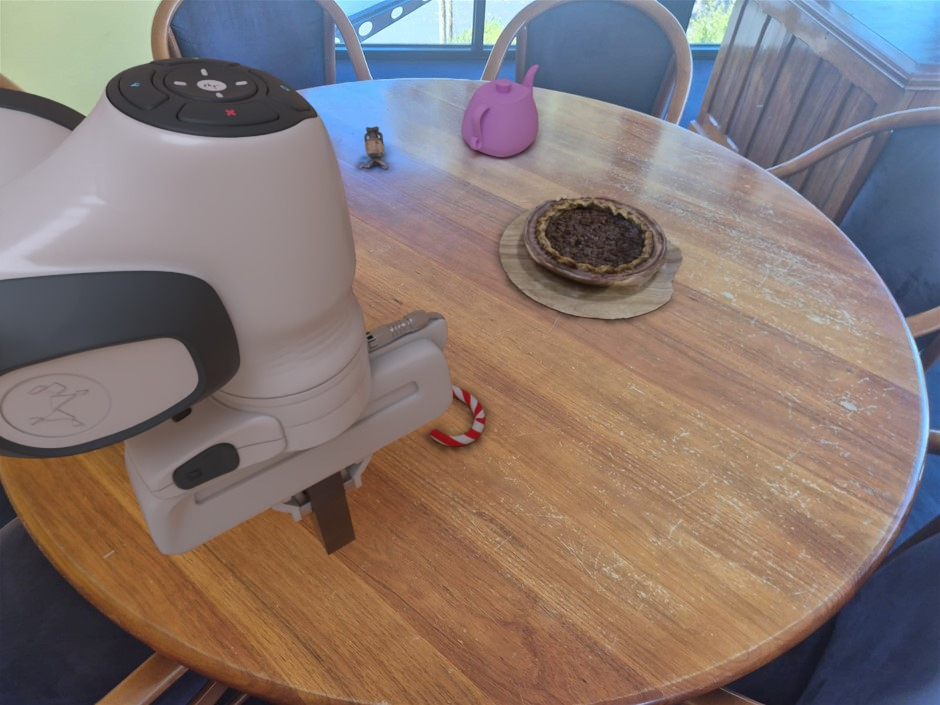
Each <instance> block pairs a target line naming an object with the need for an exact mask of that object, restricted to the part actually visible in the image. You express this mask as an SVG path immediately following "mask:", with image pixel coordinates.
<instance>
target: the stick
mask: <svg viewBox="0 0 940 705" xmlns="http://www.w3.org/2000/svg"><path fill="white" fill-rule="evenodd" d="M304 491H305V494H306V495H307V496H308V498H309V500H310V501H311V504H312V508H313V510H314V512H313V513H312V514H310V515H308V517H309V518H310V522H311V525H312V528H313V531H314V533H315V535H316V537H317V538H318V541H319V542H320V544H321V546H322V547H323V549H324V551H325V553H326V555H327V556H330V555H332V554H334V553H335V552H337V551H339V550H340V549H342V548H344V547H346V546H347V545H349V544H351V543H352V542H354V541H355V540H356V539H357V537H356V533H355V529H354V525H353V524H354V523H353V520H352V516H351V512H350V507H349V503H348V497H347V494H346V493H345V488H344V484H343V480H342V475H341V471H338V472H336V473H334V474H333V475H331V476H329V477H327V478H325V479H323V480H321V481H319V482H318V483H316V484H314V485H312V486H310V487H308V488H306V489H305V490H304Z"/></svg>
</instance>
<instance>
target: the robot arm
mask: <svg viewBox="0 0 940 705" xmlns="http://www.w3.org/2000/svg"><path fill="white" fill-rule="evenodd" d="M101 92H102V93H101V94H100V96H99V98H98V100H97V101H96V103H95V105H94V107H93V108H92V109H91V111H90V112H89V113H88V114H87V115H84V114H83V113H81V112H79V111H78V110H76V109H74V108H72V107H70V106H68V105H66V104H63V103H61V102H59V101H56V100H53V99H51V98H48V97H44V96H41V95H38V94H34V93H32V92H28V91H27V92H26V91H21V90H16V89H11V88H6V87H5V88H4V87H0V457H5V458H14V459H29V460H30V459H33V460H34V459H37V460H39V459H43V460H44V459H45V460H46V459H57V458H65V457H66V458H67V457H72V456H77V455H82V454H87V453H91V452H93V451H97V450H101V449H104V448H106V447H109V446H113V445H115V444H118V443H121V442H123V444H124V447H125V448H124V449H125V450H124V455H123V458H124V465H125V469H126V473H127V476H128V479H129V482H130V485H131V487H132V491H133V493H134V497H135V499H136V502H137V505H138V507H139V510H140V513H141V516H142V517H143V520H144V522H145V525H146V527H147V529H148V532H149V534H150V537H151V540H152V541H153V543H154V545H155V547H156V549H157V550H158V551H159V553H160V554H162V555H164V556H179V555H185V554H188V553H189V552H191V551H193V550H195V549H196V548H198V547H200V546H202V545H204V544H206V543H208V542H209V541H211V540H214V539H215V538H218V537H219V536H221V535H222V534H224V533H227V532H228V531H230V530H232V529H233V528H236V527H237V526H239V525H241V524H243V523H245V522H246V521H248V520H250V519H252V518H254V517H256V516H258V515H259V514H262V513H263V512H265V511H267V510H269V509H271V510H272V511H275V512H282V513H286V514H290V516H291V518H292V520H293V522H294V523H298V522H300V521H301V520H303V519H305V518H307V517H309V515H310V514H312V513H313V512H314V510H313V508H312V504H311V501H310V500H309V498H308V496H307V495H306V494H305V491H304V490H305V489H306V488H308V487H310V486H312V485H314V484H316V483H318V482H319V481H321V480H323V479H325V478H327V477H329V476H331V475H333V474H334V473H336V472H338V471H341V475H342V480H343V484H344V488H345V493H346V495H348V494H349V493H351V492H353V491H355V490H358V489H359V488H361V487H362V486H363V480H362V476H361V475H363V473H364V471H365V470H366V468H367V466H368V465H369V463H370V462H371V460H372V459H373V457H374V453H376V452H377V451H380V450H381V449H383V448H385V447H387V446H389V445H390V444H392V443H394V442H396V441H399V440H400V439H401V438H402V439H403V438H404V437H406V436H407V435H409V434H411V433H413V432H415V431H416V430H418V429H421V428H422V427H424V426H426V425H427V424H429V423H432V422H433V421H435V420H438V419H439V418H441V417H442V416H444V415H445V414H446V412H447V411H448V410H449V408H450V406H451V405H452V403H453V401H454V397H453V389H452V385H453V381H452V376H451V371H450V367H449V363H448V360H447V357H446V355H445V353H444V350H445V348H446V346H447V343H448V323H447V320H446V318H445V317H444V315H443V314H441V313H439V312H437V311H429V312H426V310H424V309H418V310H414V311H411V312H409V313H407V314H405V315H404V316H403V317H401V318H400V319H397V320H395V321H392V322H388V323H386V324H383V325H380V326H377V327H375V328H373V329H370V330H368V331H366V322H365V317H364V313H363V308H362V306H361V304H360V302H359V300H358V298H357V296H356V294H355V292H354V290H353V283H354V280H355V276H356V269H357V256H356V255H357V254H356V248H355V247H356V245H355V239H354V232H353V226H352V221H351V214H350V209H349V205H348V198H347V194H346V191H345V190H346V189H345V184H344V180H343V177H342V171H341V168H340V165H339V160H338V158H337V154H336V151H335V148H334V144H333V141H332V139H331V136H330V134H329V131H328V128H327V127H326V124H325V122H324V120H323V119H322V117H321V115H320V114H319V112H318V111H317V109H315V108H314V106H313V105H312V104H311V103H310V102H309V101H308V100H307V99H306V98H305V97H303V95H301V94H300V93H299V92H298V91H297V90H296V89H294V88H293V87H292V86H291V85H289V84H287V83H286V82H285V81H284V80H282V79H280V78H278V77H276V75H274V74H272V73H269V72H268V71H265V70H261V69H257V68H253V67H251V66H247V65H243V64H241V63H239V62H235V61H229V60H223V59H218V58H217V59H216V58H207V57H170V58H169V57H168V58H160V59H156V60H155V59H154V60H151V61H149V62H147V63H146V62H145V63H142V64H138V65H134V66H131V67H129V68H126V69H123V70H122V71H120V72H118V73H116V74H115V75H114V76H113V77H112V78H110V79H109V80H108V82H107V83H106V84H105V86H104V88H103V90H102V91H101Z"/></svg>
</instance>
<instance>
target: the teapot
mask: <svg viewBox="0 0 940 705" xmlns="http://www.w3.org/2000/svg"><path fill="white" fill-rule="evenodd" d="M539 67H540V66H539V64H534V65H532V66H531V67H529V68H528V70H527V71H526V74H525V76H524V78H523V81H522V84H521V83H518V82H515V81H512V80H511V79H508V78H497V79H493V80H490V81H488V82H485V83H482V85H480V86H479V87H478V88H477V89H476V90H475V91H474V93H473V94H472V96H471V98H470V100H469V102H468V104H467V106H466V108H465V111H464V114H463V117H462V122H461V130H460V131H461V135H462V138H463V139H464V141H465V142H466V144H467V145H468V146H469V147H470V148H471V150H473V151H478V152H480V153H482V154H486V155H489V156H492V157H497V158H506V157H511V156H514V155H517V154H519V153H521V152H523V151H525V150H526V149H527V148H528V147H529V146H530V145H531V144H532V143H533V142H534V140H535V139H536V137H537V135H538V133H539V126H540V124H539V122H540V121H539V112H538V108H537V105H536V101H535V98H534V80H535V76H536V73H537V71H538V70H539Z"/></svg>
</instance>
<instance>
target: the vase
mask: <svg viewBox="0 0 940 705" xmlns="http://www.w3.org/2000/svg"><path fill="white" fill-rule="evenodd" d="M365 131H366V133H365V134H364V136H363V138H364V150H365V152H366V155H367V157H369V158H370V159H371V160H370V163H369V164H366V163H362V164H361V165H358V167H359V169H361V168H366V169H370V168H371V167H372V166H374V165H380V166H381V168H383V169H384V170H386V169H388V167H389V165H390V164H389V162H385V161H383V160H382V158H383V156H384V154H385V143H384V135H383V133H382V132H381V131H380V127H379V126H372V127H369V126H366V127H365Z"/></svg>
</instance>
